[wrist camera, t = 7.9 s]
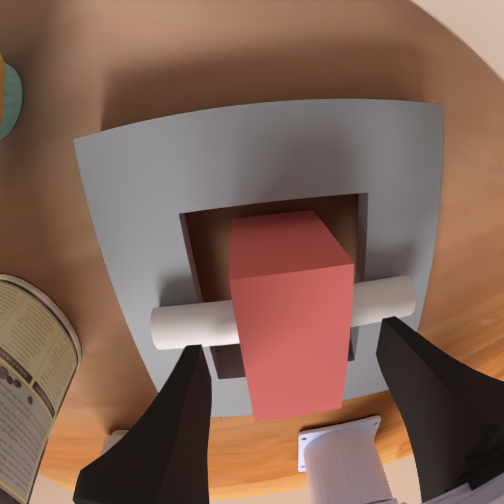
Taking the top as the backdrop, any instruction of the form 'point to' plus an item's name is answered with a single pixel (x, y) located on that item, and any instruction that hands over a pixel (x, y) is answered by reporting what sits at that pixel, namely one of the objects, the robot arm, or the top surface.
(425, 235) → the grey frame with dowel
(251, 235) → the red arch block
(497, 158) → the top surface
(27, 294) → the coffee can
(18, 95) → the cupcake
